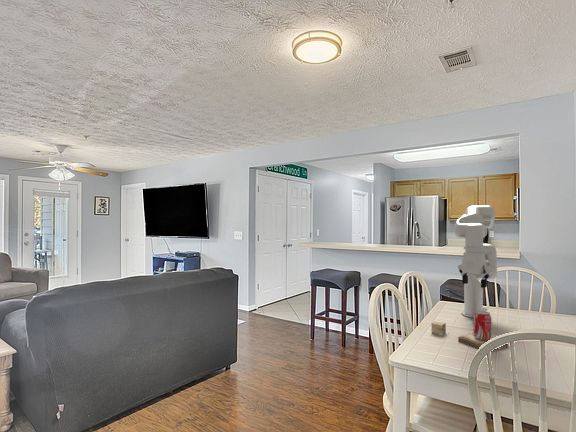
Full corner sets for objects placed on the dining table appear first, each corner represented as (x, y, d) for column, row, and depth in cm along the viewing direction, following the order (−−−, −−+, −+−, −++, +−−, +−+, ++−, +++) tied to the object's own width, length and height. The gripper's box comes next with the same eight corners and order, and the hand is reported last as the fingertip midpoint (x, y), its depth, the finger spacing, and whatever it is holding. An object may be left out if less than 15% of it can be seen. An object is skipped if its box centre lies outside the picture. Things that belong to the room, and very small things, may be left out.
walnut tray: (478, 336, 162) (478, 332, 162) (508, 346, 149) (507, 341, 149) (458, 341, 156) (458, 336, 156) (486, 351, 143) (486, 346, 143)
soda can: (472, 335, 157) (472, 309, 158) (489, 337, 155) (489, 310, 155) (475, 340, 151) (475, 313, 151) (493, 342, 148) (493, 315, 148)
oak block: (435, 330, 171) (435, 320, 171) (445, 333, 168) (445, 323, 168) (431, 333, 168) (431, 322, 168) (441, 335, 164) (441, 325, 164)
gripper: (453, 248, 168) (453, 282, 169) (486, 252, 153) (486, 290, 153) (463, 247, 172) (463, 281, 172) (496, 251, 156) (496, 288, 156)
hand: (474, 285), depth 162 cm, fingers open, 9 cm apart
